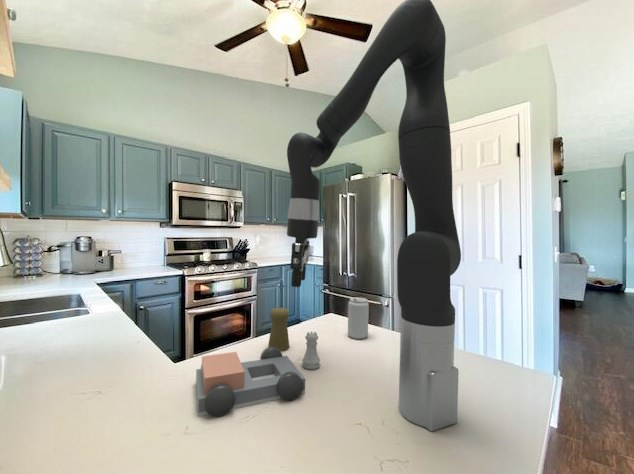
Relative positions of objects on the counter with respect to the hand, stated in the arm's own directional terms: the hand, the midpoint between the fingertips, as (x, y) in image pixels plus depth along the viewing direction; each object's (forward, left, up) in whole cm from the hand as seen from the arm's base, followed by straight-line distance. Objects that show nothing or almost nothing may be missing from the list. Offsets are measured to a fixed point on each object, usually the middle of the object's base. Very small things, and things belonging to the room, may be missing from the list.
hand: (298, 283), depth 73 cm
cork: (+11, +1, -20) cm, 23 cm away
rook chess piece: (-3, -3, -20) cm, 21 cm away
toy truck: (-8, +13, -20) cm, 25 cm away
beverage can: (+11, -25, -20) cm, 34 cm away
